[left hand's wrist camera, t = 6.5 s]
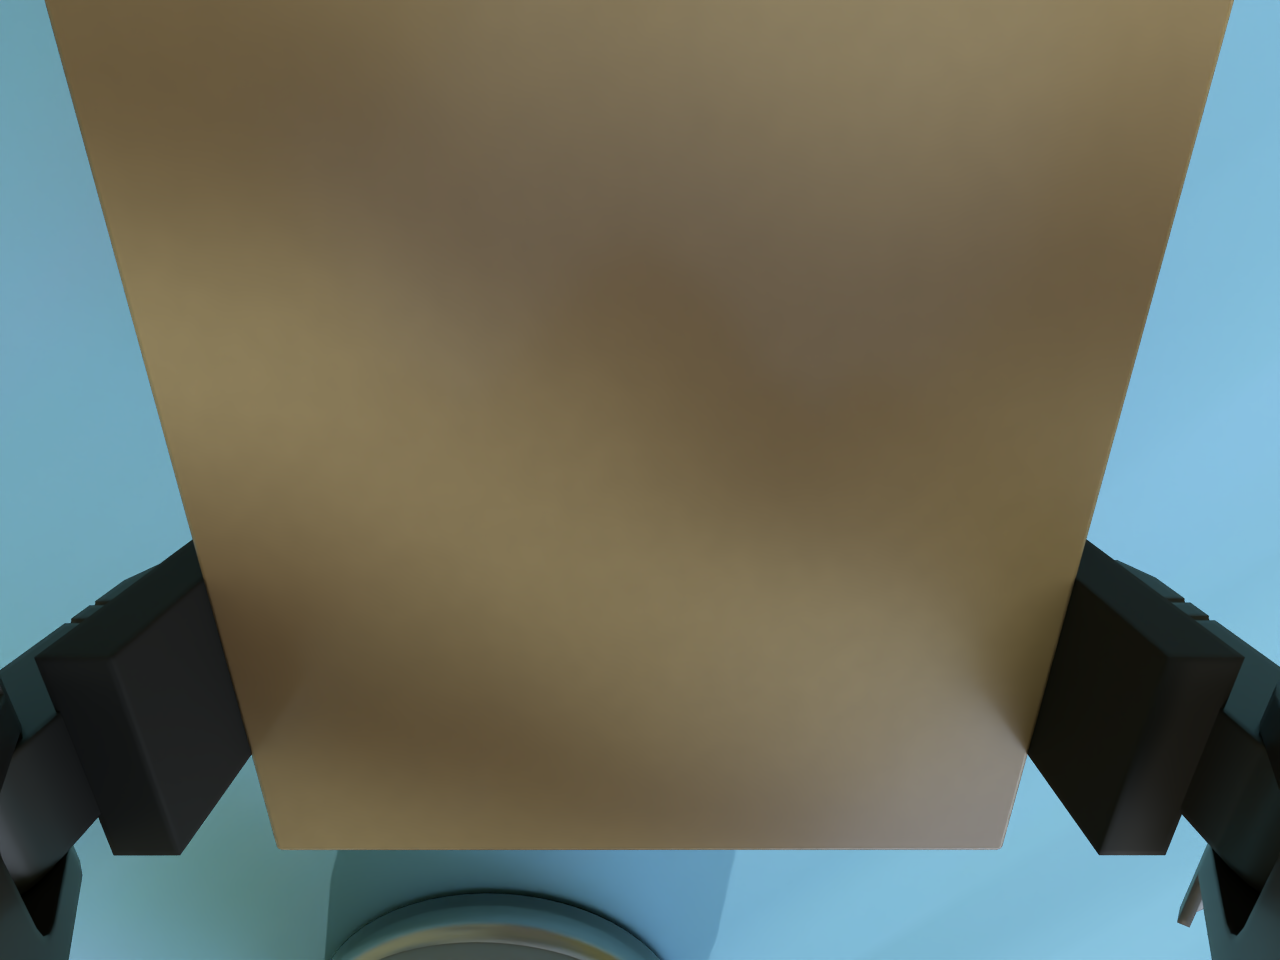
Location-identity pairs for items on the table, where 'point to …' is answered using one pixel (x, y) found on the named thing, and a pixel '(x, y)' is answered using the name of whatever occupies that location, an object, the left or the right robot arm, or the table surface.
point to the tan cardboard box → (639, 390)
